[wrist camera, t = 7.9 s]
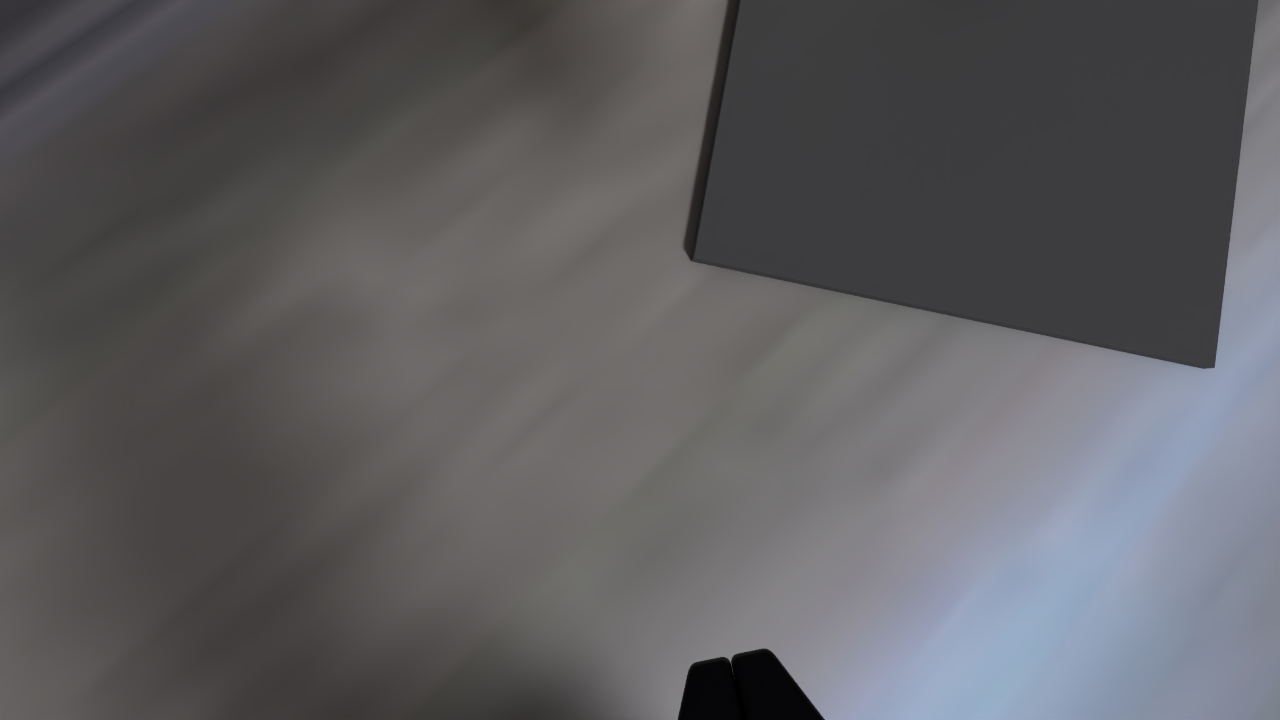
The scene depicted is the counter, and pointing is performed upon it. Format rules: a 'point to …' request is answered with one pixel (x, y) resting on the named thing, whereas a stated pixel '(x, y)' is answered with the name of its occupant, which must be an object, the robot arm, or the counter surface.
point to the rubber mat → (990, 160)
